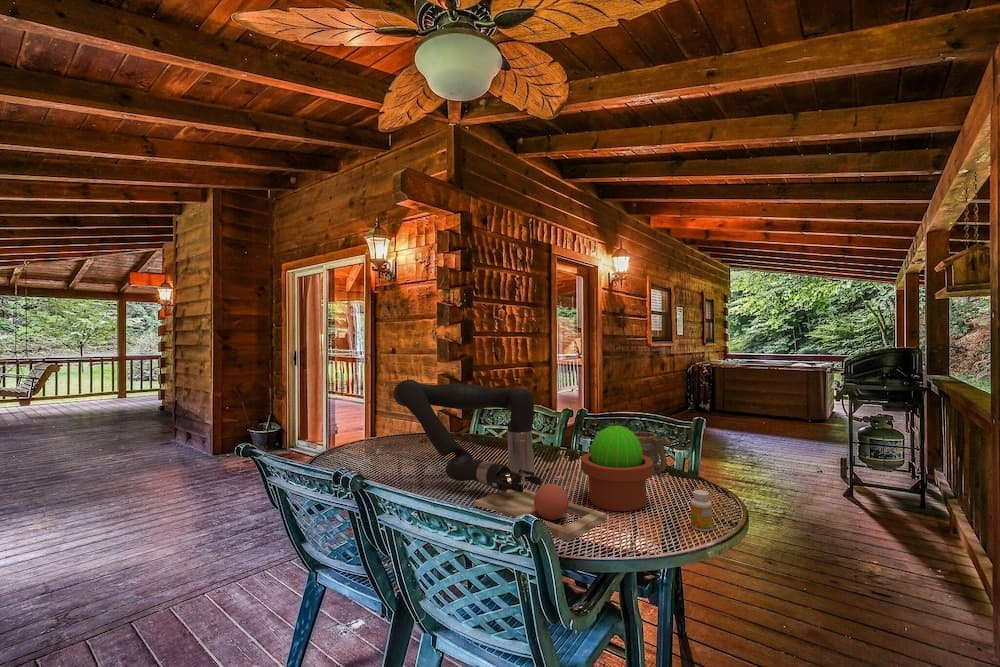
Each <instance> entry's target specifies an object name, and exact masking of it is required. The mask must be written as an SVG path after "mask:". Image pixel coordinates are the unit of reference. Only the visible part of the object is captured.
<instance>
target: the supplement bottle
mask: <svg viewBox="0 0 1000 667" xmlns="http://www.w3.org/2000/svg"><path fill="white" fill-rule="evenodd" d="M692 492H693V493H692V496H693V498H691V500H690V527H691V528H693V529H694V530H696V531H700V532H709V531H712V529H713V503H712V501H711V500H710V493H709V491H706V490H703V489H694V490H693V491H692Z"/></svg>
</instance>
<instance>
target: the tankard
mask: <svg viewBox="0 0 1000 667" xmlns="http://www.w3.org/2000/svg"><path fill="white" fill-rule="evenodd" d="M632 432H633V433H634V434H635V436H636V437H637V438H638V440H639V442H640V444H641V447H642V452H643V455H644V456H647V457H649V458H650V459H652V461H653V463H654V474H653V476H654V475H658V474H659V475H660V474H661V472H665V470H666V468H667V463H668V462H667V461H668V460H667V455H666V451H665V445H666V446H670V445H671V443H672V441H670V439H668V437H663V438H660V439H658V434H656V433H654V432H651V431H632ZM643 448H644V449H643ZM659 461H660V464H658V463H659Z"/></svg>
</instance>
